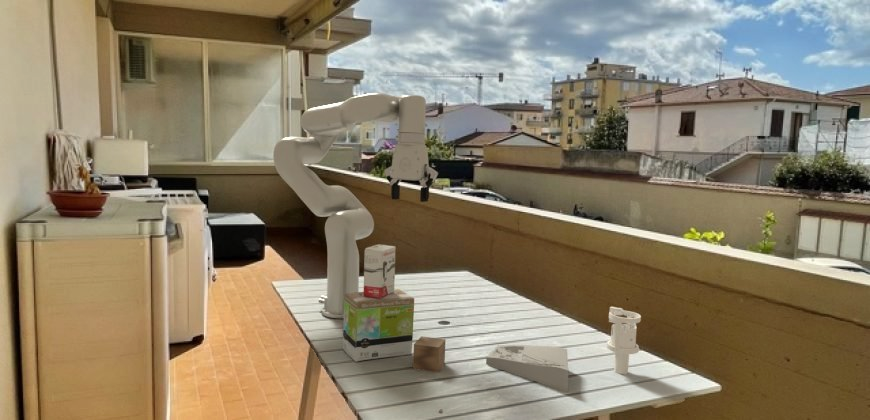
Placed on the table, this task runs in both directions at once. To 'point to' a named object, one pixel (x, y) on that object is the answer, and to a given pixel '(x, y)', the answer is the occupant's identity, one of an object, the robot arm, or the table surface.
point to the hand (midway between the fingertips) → (409, 200)
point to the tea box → (378, 325)
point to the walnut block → (429, 354)
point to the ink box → (379, 271)
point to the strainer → (623, 337)
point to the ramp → (533, 363)
